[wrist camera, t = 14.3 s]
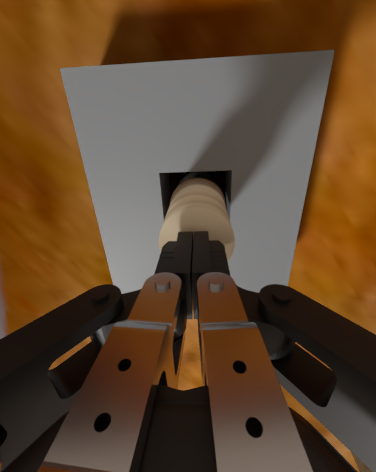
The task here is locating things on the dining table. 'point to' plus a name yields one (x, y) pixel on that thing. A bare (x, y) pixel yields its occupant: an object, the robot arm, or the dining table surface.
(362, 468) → the wooden container
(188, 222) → the peg
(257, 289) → the socket block
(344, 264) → the dining table surface
